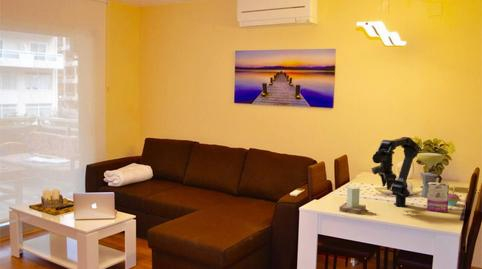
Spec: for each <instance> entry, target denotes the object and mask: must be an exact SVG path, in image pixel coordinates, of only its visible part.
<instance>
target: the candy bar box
mask: <svg viewBox="0 0 482 269" xmlns="http://www.w3.org/2000/svg"><path fill="white" fill-rule="evenodd" d="M449 189H450V187H449V183H447V182H445V183H444V182H441V183H438V182H435V183H434V182H428V195H427V198H426V200H427V201H426V211H428V212H437V213H438V212H440V213H448V212H449V211H448V210H449V208H448V206H449V205H448V193H449Z"/></svg>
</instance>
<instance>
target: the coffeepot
mask: <svg viewBox="0 0 482 269" xmlns="http://www.w3.org/2000/svg"><path fill="white" fill-rule="evenodd" d="M420 176H421V179H422V184H423V185H422V186H423V188H421V195H420V196H421V197H422V198H426V199H427V195H428V182H434V183H442V180H443V177H442V176H441V175H440V174H436V173H433V172H432V170H431V169H430V170H429V169H428V171H427V172H421V173H420ZM437 178H438V182H436V181H437Z"/></svg>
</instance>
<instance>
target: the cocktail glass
mask: <svg viewBox="0 0 482 269" xmlns="http://www.w3.org/2000/svg"><path fill="white" fill-rule="evenodd" d="M416 158H417V160H418V161H420V162H422V163H423V164H425V165H426V166H427V168H428V170H431V168H432V167H434V165H436V164H439V163H441V162H443V161H444V159H445V154H444V153H441V152H435V151H419V152H418V155H417V156H416ZM420 188H421V189H423V185H421V186H420Z"/></svg>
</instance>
